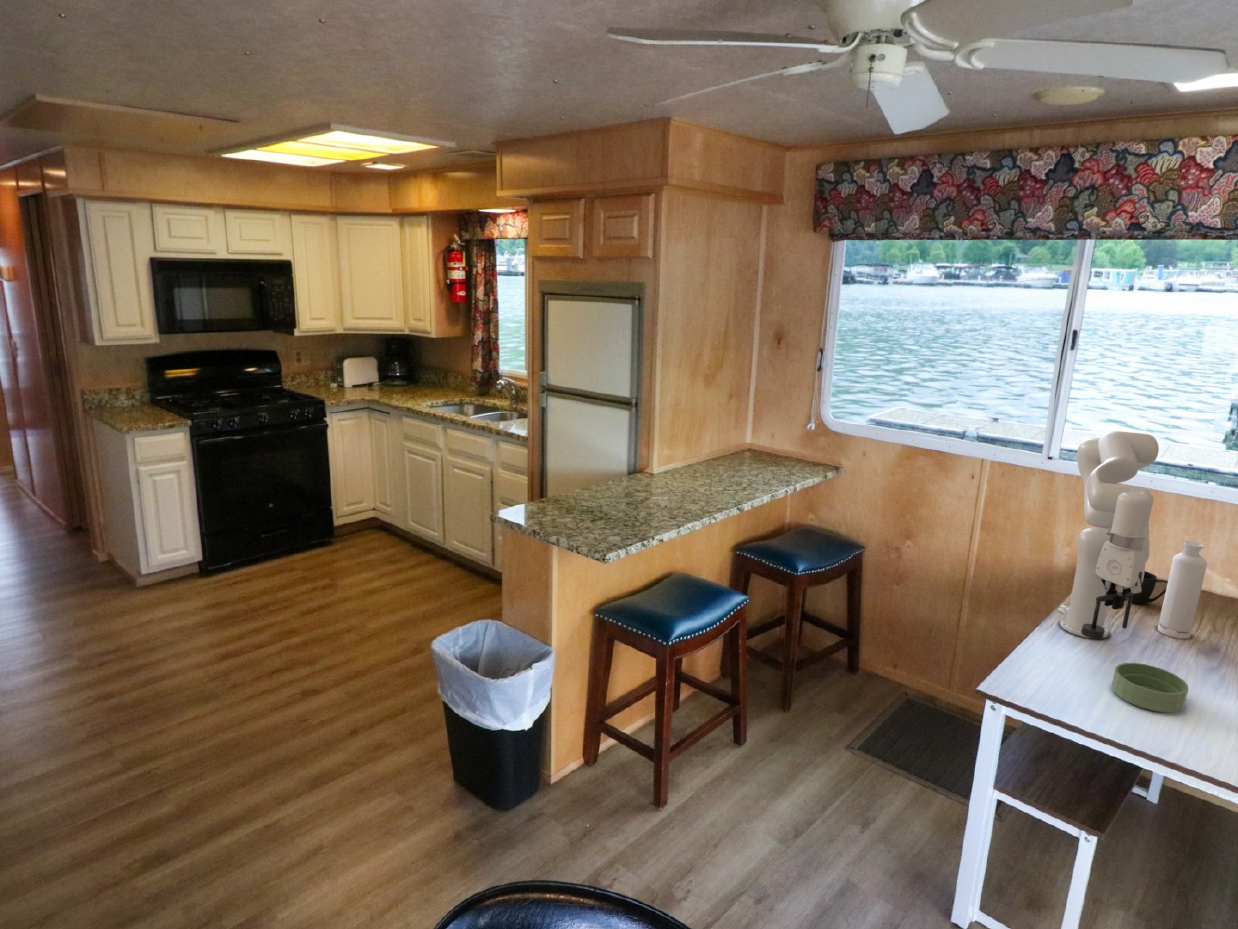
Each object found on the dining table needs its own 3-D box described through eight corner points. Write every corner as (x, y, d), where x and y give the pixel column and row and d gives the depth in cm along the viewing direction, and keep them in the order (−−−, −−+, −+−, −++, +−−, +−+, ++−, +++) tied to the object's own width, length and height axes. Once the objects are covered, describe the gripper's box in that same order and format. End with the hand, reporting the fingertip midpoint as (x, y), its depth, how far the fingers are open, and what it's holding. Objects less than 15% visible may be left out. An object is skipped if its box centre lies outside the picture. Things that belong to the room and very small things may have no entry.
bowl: (1097, 687, 200) (1101, 668, 199) (1138, 677, 206) (1142, 659, 204) (1156, 719, 186) (1160, 698, 185) (1198, 708, 192) (1202, 688, 191)
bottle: (1160, 623, 238) (1180, 537, 231) (1192, 633, 233) (1213, 544, 226) (1154, 631, 233) (1174, 543, 226) (1186, 641, 227) (1208, 551, 220)
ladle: (1117, 624, 211) (1124, 587, 208) (1134, 632, 206) (1142, 594, 204) (1076, 632, 205) (1083, 594, 203) (1094, 640, 201) (1101, 601, 198)
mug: (1164, 612, 247) (1170, 584, 244) (1119, 601, 254) (1125, 574, 251) (1165, 603, 253) (1171, 576, 251) (1122, 593, 260) (1127, 567, 258)
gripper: (1088, 532, 205) (1076, 597, 210) (1146, 552, 191) (1131, 621, 196) (1108, 529, 208) (1096, 593, 213) (1167, 549, 194) (1152, 617, 199)
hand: (1113, 606), depth 204 cm, fingers closed on ladle, 1 cm apart
